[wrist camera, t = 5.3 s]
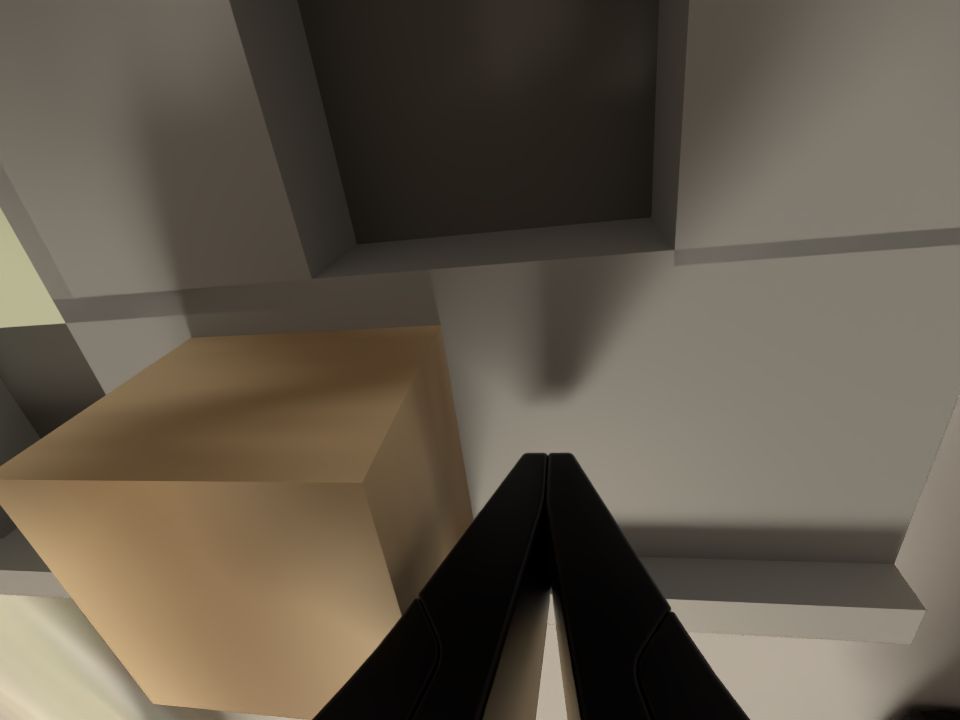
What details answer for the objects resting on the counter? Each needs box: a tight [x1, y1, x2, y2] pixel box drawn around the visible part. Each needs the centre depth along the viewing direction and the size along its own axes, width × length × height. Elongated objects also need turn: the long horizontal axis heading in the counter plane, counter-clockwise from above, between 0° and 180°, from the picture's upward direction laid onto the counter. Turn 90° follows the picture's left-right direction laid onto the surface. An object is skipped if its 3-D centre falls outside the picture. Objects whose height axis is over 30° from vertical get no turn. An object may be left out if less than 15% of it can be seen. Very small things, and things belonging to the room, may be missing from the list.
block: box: [0, 325, 473, 720], centre depth 9 cm, size 5×5×4 cm
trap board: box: [0, 0, 960, 644], centre depth 9 cm, size 24×15×4 cm, turn 97°
